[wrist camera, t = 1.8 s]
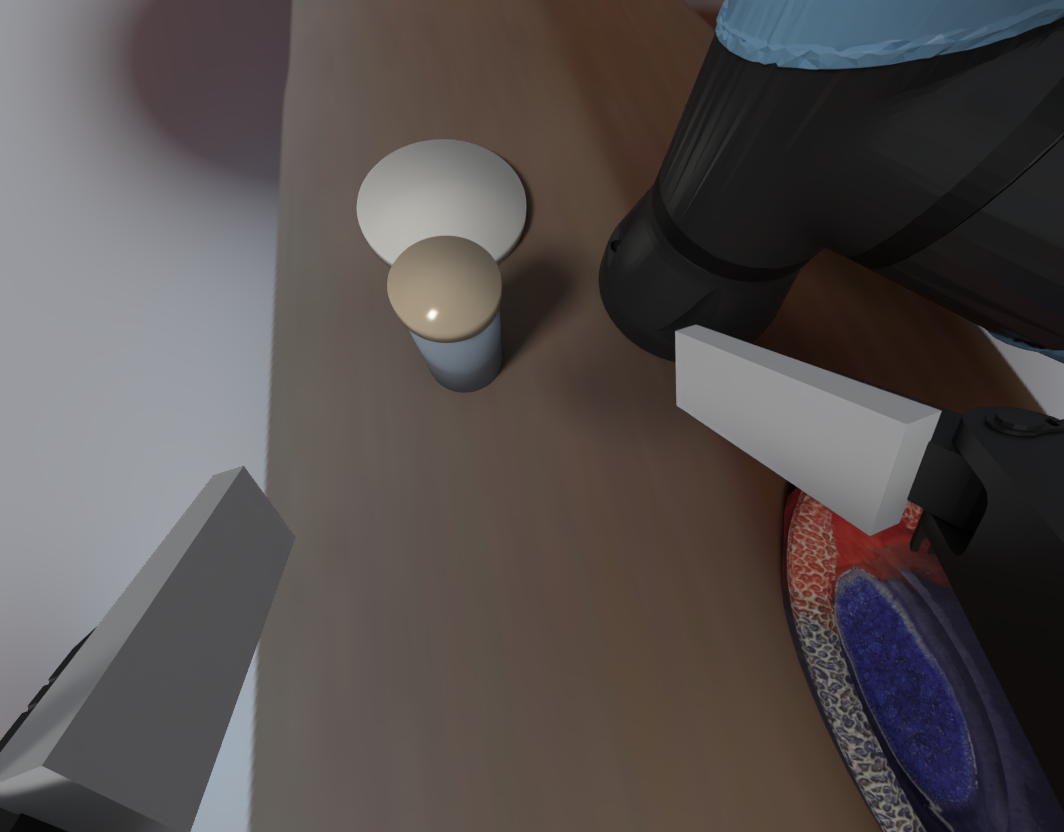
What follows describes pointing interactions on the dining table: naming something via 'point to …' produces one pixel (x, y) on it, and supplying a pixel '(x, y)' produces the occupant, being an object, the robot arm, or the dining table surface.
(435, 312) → the jar
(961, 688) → the dish
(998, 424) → the robot arm
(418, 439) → the dining table surface
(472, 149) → the plate
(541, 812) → the dining table surface
